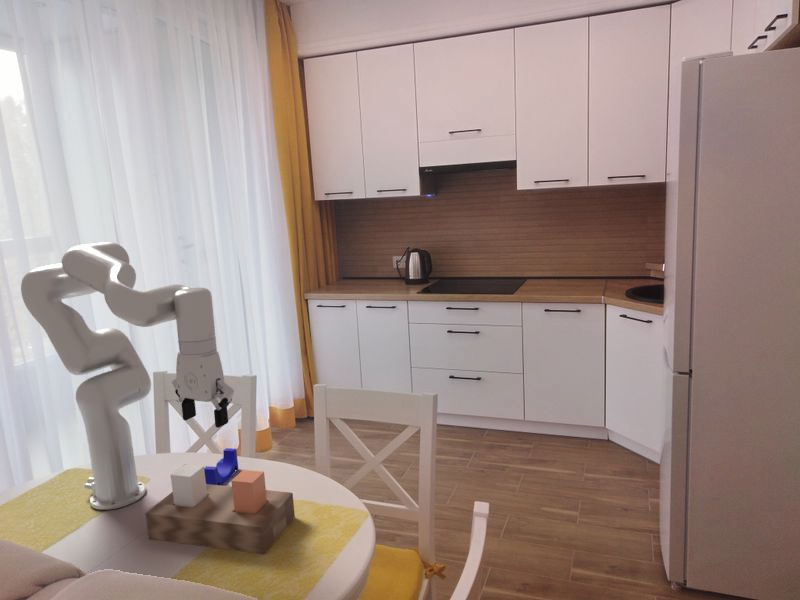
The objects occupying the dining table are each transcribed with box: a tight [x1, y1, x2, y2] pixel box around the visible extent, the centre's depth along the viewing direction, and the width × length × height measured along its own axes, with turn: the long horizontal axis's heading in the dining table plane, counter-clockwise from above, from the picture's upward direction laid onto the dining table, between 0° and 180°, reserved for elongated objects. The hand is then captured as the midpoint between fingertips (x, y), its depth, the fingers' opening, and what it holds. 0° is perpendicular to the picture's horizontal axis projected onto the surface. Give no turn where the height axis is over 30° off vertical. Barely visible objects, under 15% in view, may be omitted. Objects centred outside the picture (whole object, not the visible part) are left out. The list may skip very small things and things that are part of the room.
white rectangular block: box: [170, 464, 207, 508], centre depth 131 cm, size 5×5×8 cm
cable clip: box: [204, 447, 239, 486], centre depth 153 cm, size 12×4×6 cm, turn 169°
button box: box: [144, 484, 296, 555], centre depth 130 cm, size 28×14×6 cm, turn 74°
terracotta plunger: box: [231, 469, 267, 515], centre depth 127 cm, size 5×5×8 cm
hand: (205, 421), depth 129 cm, fingers open, 9 cm apart
